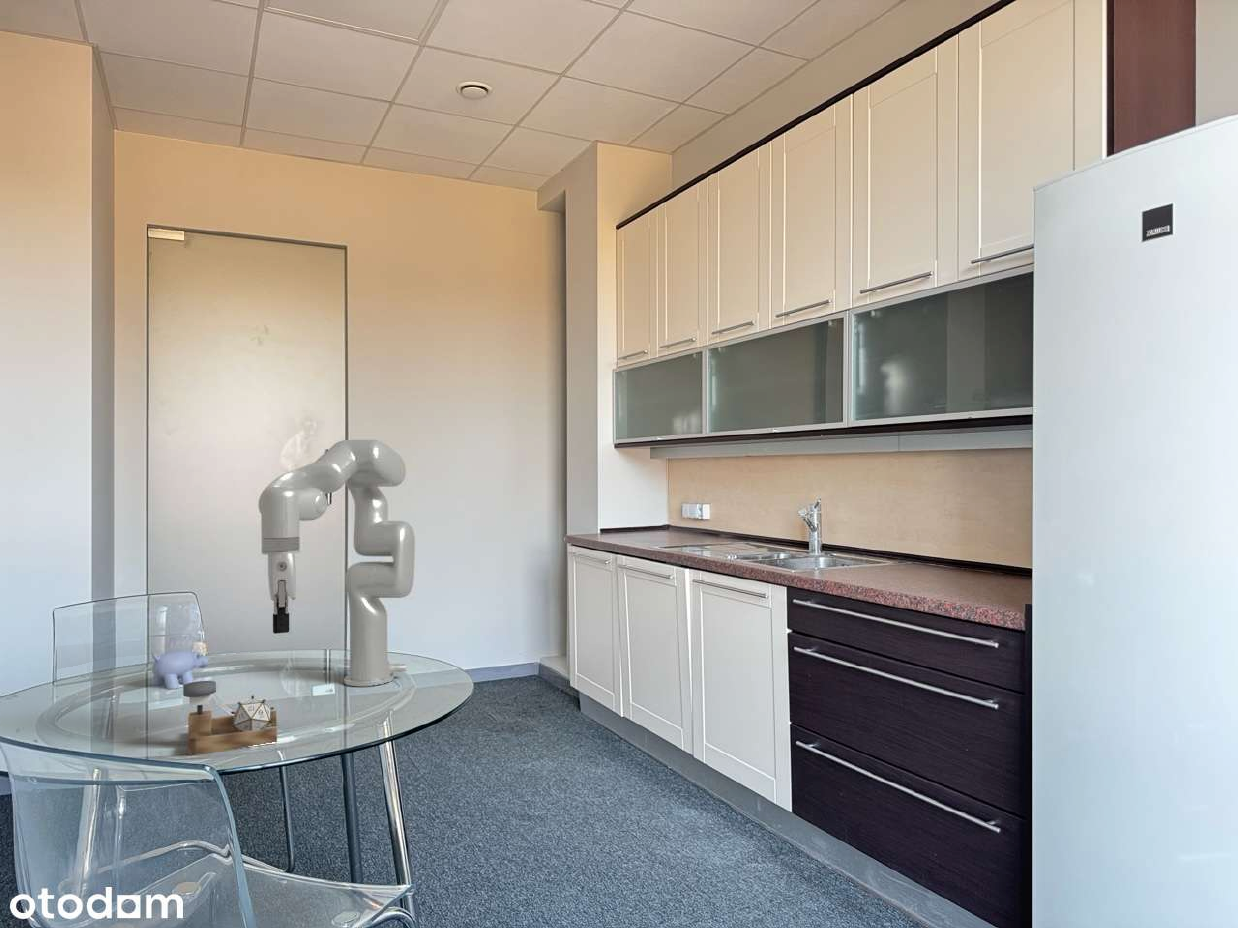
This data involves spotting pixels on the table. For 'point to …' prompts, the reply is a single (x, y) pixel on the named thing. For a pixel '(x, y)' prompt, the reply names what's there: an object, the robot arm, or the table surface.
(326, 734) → the table surface
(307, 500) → the robot arm
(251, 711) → the game die
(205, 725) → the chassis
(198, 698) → the wheel
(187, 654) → the hippopotamus toy
